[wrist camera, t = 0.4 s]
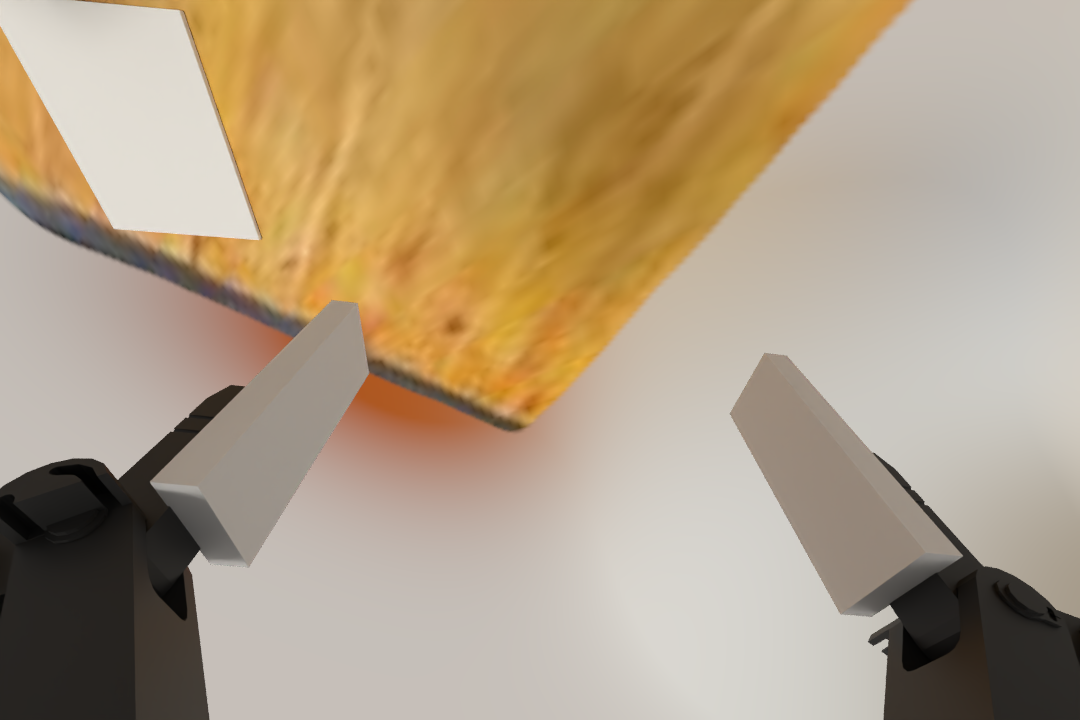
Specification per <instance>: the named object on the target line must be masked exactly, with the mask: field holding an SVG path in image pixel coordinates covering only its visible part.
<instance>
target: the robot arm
mask: <svg viewBox="0 0 1080 720" xmlns="http://www.w3.org/2000/svg"><path fill="white" fill-rule="evenodd" d="M368 374H369V370H368V364H367V358H366V352H365V346H364V340H363V334H362V327H361V321H360V315H359V309H358V303H351V302H343V301H335V300H332V301H331V302H330V303H329V304H328V305H327V306H326V307H325V308H324V309H323V310H322V311H321V312H320V313H319V314H318V315H317V316H316V317H315V318H314V319H313V320H312V321H311V322H310V323H309V324H308V325H307V326H306V327H305V328H304V329H303V330H302V331H301V332H300V333H299V334H298V335H297V336H296V337H295V338H294V339H293V340H292V341H291V342H290V343H289V344H288V345H287V346H286V347H285V348H284V349H283V350H282V351H281V352H280V353H279V354H278V355H277V356H276V357H275V358H274V359H273V360H272V361H271V362H270V363H269V364H268V365H267V366H266V367H265V368H264V369H263V370H262V371H260V372H259V373H258V375H256V376H255V378H254V379H253V380H252V381H251V382H249V383H248V385H246V386H235V385H230V386H229V387H227V388H225V389H223V390H221V391H219V392H217V393H216V394H214V395H212V396H210V397H208V398H207V399H206V400H204V401H203V402H202V403H201V404H200V405H199V406H198V407H197V408H196V409H195V410H194V411H193V412H191V413H190V415H189V418H185V419H184V420H183V421H182V422H180V423H179V425H177V426H176V427H175V428H174V429H175V430H174V432H170V433H169V434H167V435H166V436H165V437H164V438H163V439H162V440H161V441H160V442H159V443H158V444H157V445H156V446H155V447H153V448H152V449H151V450H150V451H149V452H148V453H147V454H146V455H145V456H144V457H142V458H141V459H140V460H139V461H138V462H137V463H136V464H135V465H134V466H133V467H131V468H130V469H129V470H128V471H127V472H126V473H125V474H124V475H123V476H122V477H121V478H120V479H119V480H117V479H116V478H115V477H114V475H113V474H112V473H111V472H110V471H109V469H108V468H107V467H106V466H105V464H104V463H101V462H99V461H96V460H94V459H69V460H65V461H61V462H55V463H51V464H49V465H45V466H43V467H40V468H37V469H35V470H32V471H30V472H27V473H25V474H24V475H22V476H20V477H18V478H16V479H15V480H13V481H11V482H9V483H7V484H6V485H4V486H3V487H2V488H1V489H0V720H209V713H208V704H207V696H206V688H205V680H204V671H203V662H202V655H201V646H200V638H199V630H198V622H197V613H196V604H195V597H194V588H193V580H192V574H191V572H190V570H189V568H188V565H189V564H190V562H191V561H192V560H193V558H194V557H195V555H196V554H197V553H198V552H199V550H200V551H201V552H202V553H203V555H204V556H205V557H206V559H207V560H208V562H209V563H210V564H214V565H227V566H239V567H249V566H250V564H251V563H252V561H253V560H254V558H255V556H256V555H257V553H258V552H259V550H260V548H261V547H262V545H263V543H264V542H265V540H266V539H267V537H268V535H269V534H270V532H271V531H272V529H273V527H274V526H275V524H276V523H277V521H278V519H279V518H280V516H281V514H282V513H283V511H284V510H285V508H286V506H287V505H288V503H289V502H290V500H291V498H292V497H293V495H294V494H295V492H296V490H297V489H298V487H299V485H300V484H301V482H302V481H303V479H304V477H305V475H306V474H307V472H308V471H309V469H310V468H311V466H312V464H313V463H314V461H315V460H316V458H317V456H318V455H319V453H320V451H321V450H322V448H323V447H324V445H325V443H326V442H327V440H328V439H329V437H330V436H331V434H332V432H333V431H334V429H335V427H336V426H337V424H338V423H339V421H340V419H341V418H342V416H343V414H344V413H345V411H346V410H347V408H348V406H349V405H350V403H351V402H352V400H353V398H354V397H355V395H356V394H357V392H358V390H359V389H360V387H361V386H362V384H363V382H364V381H365V379H366V378H367V376H368ZM730 415H731V416H732V419H733V420H734V422H735V424H736V426H737V427H738V429H739V431H740V433H741V435H742V437H743V438H744V440H745V442H746V444H747V446H748V448H749V449H750V451H751V453H752V455H753V457H754V458H755V460H756V462H757V464H758V466H759V468H760V469H761V471H762V473H763V475H764V477H765V478H766V480H767V482H768V484H769V486H770V487H771V489H772V491H773V493H774V495H775V497H776V498H777V500H778V502H779V504H780V506H781V507H782V509H783V511H784V513H785V515H786V516H787V518H788V520H789V522H790V524H791V526H792V527H793V529H794V531H795V533H796V534H797V536H798V538H799V540H800V542H801V544H802V545H803V547H804V549H805V551H806V553H807V554H808V556H809V558H810V560H811V562H812V563H813V565H814V567H815V569H816V571H817V572H818V574H819V576H820V578H821V580H822V582H823V583H824V585H825V587H826V589H827V591H828V593H829V594H830V596H831V598H832V600H833V601H834V603H835V605H836V607H837V609H838V611H839V612H840V614H844V615H856V616H870V617H872V616H873V615H875V614H877V613H878V612H880V611H881V610H882V609H884V608H886V607H887V606H889V605H891V607H892V608H893V610H894V612H895V613H896V615H897V616H898V617H899V618H898V619H896V620H895V621H893V622H891V623H890V624H888V625H887V626H885V627H883V628H882V629H880V630H878V631H877V632H875V633H874V634H872V635H871V636H870V639H869V641H868V642H869V643H870V644H872V645H873V646H874V645H876V644H877V643H879V642H881V641H882V640H884V639H888V640H889V642H888V647H886V648H885V649H883V650H882V652H883V653H885V654H886V655H887V656H888V658H887V675H886V690H885V705H884V720H1080V619H1079V618H1077V617H1074V616H1071V615H1069V614H1066V613H1063V612H1061V611H1058V610H1056V609H1055V608H1054V607H1053V606H1052V605H1051V604H1050V603H1049V602H1048V601H1047V600H1046V599H1045V598H1044V597H1043V596H1042V595H1040V594H1039V593H1038V592H1037V591H1036V590H1035V589H1033V588H1032V587H1031V586H1029V585H1027V584H1026V583H1025V582H1023V581H1021V580H1020V579H1018V578H1017V577H1015V576H1013V575H1011V574H1009V573H1007V572H1004V571H1002V570H1000V569H997V568H992V567H984V566H982V565H981V564H980V563H979V562H978V560H977V559H976V558H975V557H974V556H973V555H972V554H971V553H970V552H969V550H968V549H967V548H966V547H965V546H964V545H963V544H962V543H961V542H960V540H958V538H957V537H956V536H955V535H954V534H953V533H952V532H951V530H950V529H949V528H948V527H947V526H946V525H945V524H944V523H943V522H942V521H941V519H940V518H939V517H938V516H937V515H936V514H935V513H934V512H933V511H932V509H930V507H929V506H927V505H924V501H923V499H921V497H920V496H919V495H918V494H917V493H916V492H915V491H914V490H911V486H910V485H909V484H908V483H907V482H906V481H905V480H904V478H903V477H902V476H901V475H900V474H899V473H898V472H897V471H896V470H895V469H894V468H893V467H892V466H890V465H889V464H887V463H886V462H885V461H884V460H883V459H881V458H880V457H879V456H877V455H876V454H875V453H872V452H871V451H870V450H869V449H868V448H867V446H866V445H865V444H864V443H863V442H862V441H861V440H860V439H859V437H858V436H857V435H856V434H855V433H854V432H853V430H852V429H851V428H850V427H849V426H848V425H847V424H846V422H845V421H843V419H842V418H841V417H840V416H839V415H838V413H837V412H836V411H835V410H834V409H833V408H832V407H831V405H829V403H828V402H827V401H826V400H825V399H824V398H823V396H822V395H821V394H820V393H819V392H818V391H817V390H816V388H815V387H814V386H813V385H812V384H811V383H810V382H809V380H808V379H807V378H806V377H805V376H804V375H803V374H802V373H801V371H800V370H799V369H798V368H797V367H796V366H795V365H794V364H793V362H792V361H791V360H790V359H789V358H788V357H787V356H784V355H776V354H768V353H764V355H763V357H762V358H761V360H760V362H759V364H758V366H757V367H756V369H755V371H754V372H753V374H752V376H751V378H750V379H749V381H748V383H747V385H746V386H745V388H744V390H743V391H742V393H741V395H740V397H739V399H738V400H737V402H736V404H735V405H734V407H733V409H732V411H731V412H730Z"/></svg>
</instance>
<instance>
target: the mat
mask: <svg viewBox="0 0 1080 720" xmlns="http://www.w3.org/2000/svg"><path fill="white" fill-rule="evenodd" d="M0 26H1V28H2V30H3V31H4V33H5V35H6V37H7V39H8V40H9V42H10V44H11V46H12V48H13V49H14V51H15V53H16V55H17V56H18V58H19V60H20V62H21V64H22V65H23V67H24V69H25V71H26V73H27V74H28V76H29V78H30V80H31V81H32V83H33V85H34V87H35V89H36V90H37V92H38V94H39V96H40V98H41V99H42V101H43V103H44V105H45V106H46V108H47V110H48V112H49V114H50V115H51V117H52V119H53V121H54V123H55V124H56V126H57V128H58V130H59V132H60V133H61V135H62V137H63V139H64V140H65V142H66V144H67V146H68V148H69V149H70V151H71V153H72V155H73V157H74V158H75V160H76V162H77V164H78V165H79V167H80V169H81V171H82V173H83V174H84V176H85V178H86V180H87V182H88V183H89V185H90V187H91V189H92V190H93V192H94V194H95V196H96V198H97V199H98V201H99V203H100V205H101V207H102V208H103V210H104V212H105V214H106V216H107V217H108V219H109V221H110V223H111V224H112V226H113V228H114V229H122V230H135V231H148V232H161V233H174V234H187V235H200V236H213V237H226V238H239V239H252V240H260V239H262V238H261V235H260V232H259V229H258V226H257V223H256V220H255V217H254V214H253V211H252V209H251V206H250V203H249V200H248V197H247V194H246V191H245V188H244V185H243V182H242V180H241V177H240V174H239V171H238V168H237V165H236V162H235V159H234V156H233V154H232V151H231V148H230V145H229V142H228V139H227V136H226V133H225V130H224V127H223V125H222V122H221V119H220V116H219V113H218V110H217V107H216V104H215V101H214V98H213V96H212V93H211V90H210V87H209V84H208V81H207V78H206V75H205V72H204V69H203V67H202V64H201V61H200V58H199V55H198V52H197V49H196V46H195V43H194V41H193V38H192V35H191V32H190V29H189V26H188V23H187V20H186V17H185V14H184V12H183V11H180V10H171V9H160V8H150V7H139V6H128V5H118V4H107V3H96V2H85V1H75V0H0Z"/></svg>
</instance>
